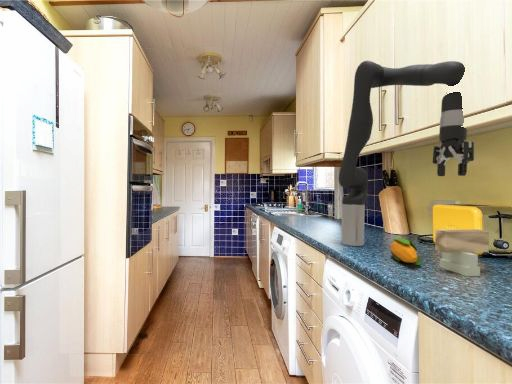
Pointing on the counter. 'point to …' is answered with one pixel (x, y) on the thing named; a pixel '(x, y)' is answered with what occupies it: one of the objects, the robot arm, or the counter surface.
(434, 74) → the robot arm
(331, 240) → the counter surface
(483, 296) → the counter surface
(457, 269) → the grey rectangular block
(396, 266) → the counter surface
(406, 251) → the corn
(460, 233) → the oak bar
